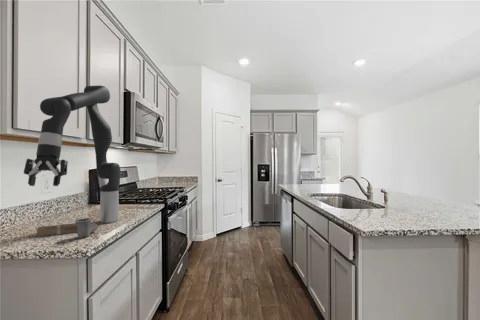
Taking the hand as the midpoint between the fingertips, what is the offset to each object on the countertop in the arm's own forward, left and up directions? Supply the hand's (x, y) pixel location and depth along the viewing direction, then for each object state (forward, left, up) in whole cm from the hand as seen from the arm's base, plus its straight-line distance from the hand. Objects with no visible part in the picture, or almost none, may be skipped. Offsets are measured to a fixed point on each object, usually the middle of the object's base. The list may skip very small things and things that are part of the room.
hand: (43, 185), depth 97 cm
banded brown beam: (-23, +5, -25) cm, 34 cm away
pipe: (-13, +14, -25) cm, 31 cm away
